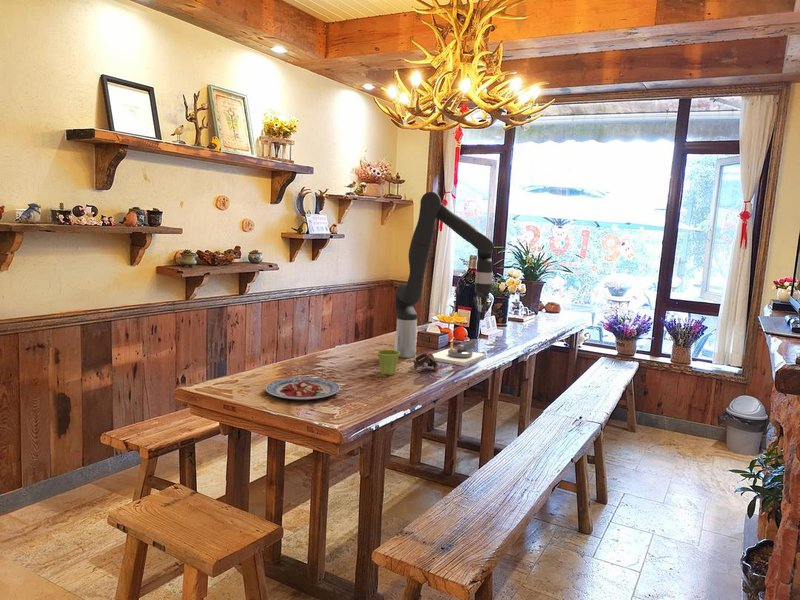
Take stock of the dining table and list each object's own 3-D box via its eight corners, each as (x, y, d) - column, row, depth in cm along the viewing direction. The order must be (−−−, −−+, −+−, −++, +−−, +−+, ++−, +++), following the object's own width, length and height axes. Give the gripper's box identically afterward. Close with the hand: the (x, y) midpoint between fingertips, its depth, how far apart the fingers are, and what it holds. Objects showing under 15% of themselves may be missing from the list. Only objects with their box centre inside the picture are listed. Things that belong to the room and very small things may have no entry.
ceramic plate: (251, 391, 206) (251, 382, 206) (311, 379, 224) (311, 371, 224) (293, 409, 188) (293, 400, 187) (354, 395, 206) (354, 387, 205)
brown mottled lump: (437, 375, 238) (427, 358, 236) (417, 382, 242) (408, 365, 240) (443, 362, 249) (434, 345, 247) (424, 368, 253) (415, 352, 251)
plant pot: (385, 377, 230) (386, 355, 229) (371, 372, 237) (372, 351, 236) (404, 374, 236) (404, 353, 235) (389, 369, 243) (390, 348, 242)
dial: (465, 359, 259) (466, 349, 258) (443, 355, 265) (444, 345, 264) (482, 352, 274) (483, 342, 273) (461, 348, 280) (462, 339, 279)
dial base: (463, 366, 254) (464, 355, 253) (427, 359, 263) (427, 349, 263) (485, 357, 272) (485, 347, 271) (450, 351, 282) (450, 342, 281)
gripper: (498, 283, 261) (496, 321, 264) (483, 280, 273) (481, 317, 276) (483, 283, 258) (481, 322, 261) (469, 280, 271) (467, 317, 273)
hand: (481, 319), depth 268 cm, fingers closed
